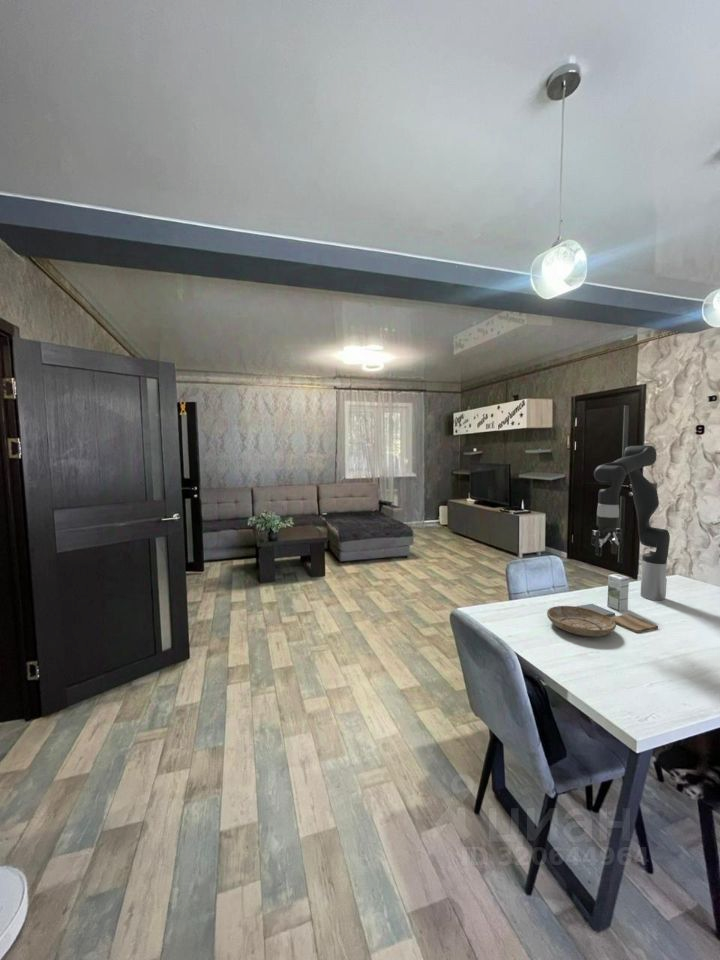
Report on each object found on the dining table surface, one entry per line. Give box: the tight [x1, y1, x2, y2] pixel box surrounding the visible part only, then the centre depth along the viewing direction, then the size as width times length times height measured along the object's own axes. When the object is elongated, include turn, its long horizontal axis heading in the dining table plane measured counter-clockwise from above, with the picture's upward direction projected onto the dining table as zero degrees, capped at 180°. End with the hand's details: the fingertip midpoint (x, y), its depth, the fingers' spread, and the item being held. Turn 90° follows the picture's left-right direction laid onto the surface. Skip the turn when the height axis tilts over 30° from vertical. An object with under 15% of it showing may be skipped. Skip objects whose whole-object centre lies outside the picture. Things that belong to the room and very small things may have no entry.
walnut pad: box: [609, 613, 659, 634], centre depth 157 cm, size 12×12×1 cm
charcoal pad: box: [574, 603, 616, 617], centre depth 168 cm, size 11×11×1 cm
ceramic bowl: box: [546, 605, 617, 637], centre depth 153 cm, size 23×24×5 cm
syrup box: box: [606, 573, 630, 612], centre depth 173 cm, size 6×6×14 cm
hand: (606, 554), depth 158 cm, fingers open, 8 cm apart
